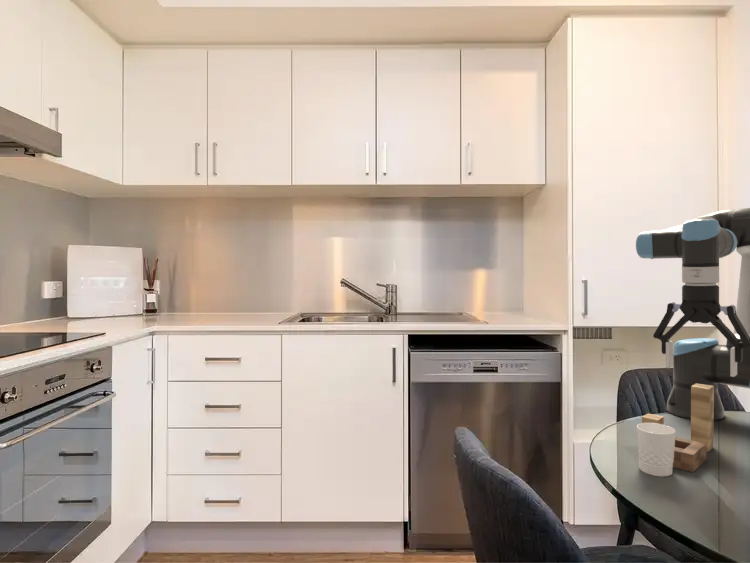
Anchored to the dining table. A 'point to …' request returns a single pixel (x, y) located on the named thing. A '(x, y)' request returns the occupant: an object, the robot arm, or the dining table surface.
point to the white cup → (656, 448)
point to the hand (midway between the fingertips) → (700, 371)
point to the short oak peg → (653, 419)
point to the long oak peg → (702, 414)
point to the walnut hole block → (688, 454)
